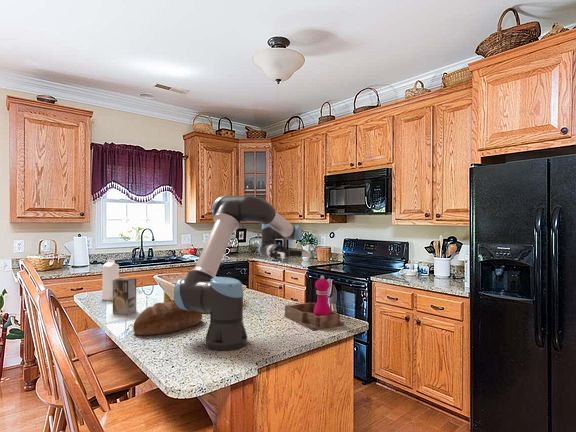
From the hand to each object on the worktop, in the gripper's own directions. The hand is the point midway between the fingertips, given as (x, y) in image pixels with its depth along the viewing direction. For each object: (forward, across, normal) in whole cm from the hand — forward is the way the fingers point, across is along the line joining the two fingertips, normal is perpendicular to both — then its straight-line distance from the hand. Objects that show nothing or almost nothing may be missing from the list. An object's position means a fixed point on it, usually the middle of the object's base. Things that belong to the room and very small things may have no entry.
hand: (297, 255), depth 170 cm
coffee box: (-45, +69, -29) cm, 88 cm away
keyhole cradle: (+9, -3, -28) cm, 30 cm away
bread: (-10, +55, -29) cm, 63 cm away
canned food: (-50, +46, -29) cm, 74 cm away
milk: (-80, +74, -29) cm, 113 cm away
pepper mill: (+16, -3, -28) cm, 32 cm away
